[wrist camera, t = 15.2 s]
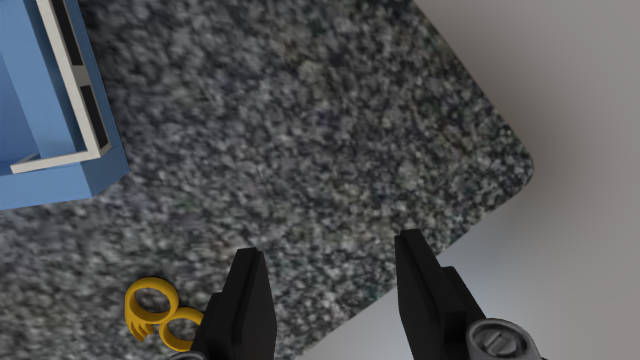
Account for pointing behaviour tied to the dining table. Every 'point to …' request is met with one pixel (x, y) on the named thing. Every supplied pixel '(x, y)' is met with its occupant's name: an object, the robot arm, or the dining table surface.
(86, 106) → the white sunglasses
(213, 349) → the robot arm
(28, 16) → the bin
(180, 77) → the dining table surface
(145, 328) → the yellow winged triple ring
